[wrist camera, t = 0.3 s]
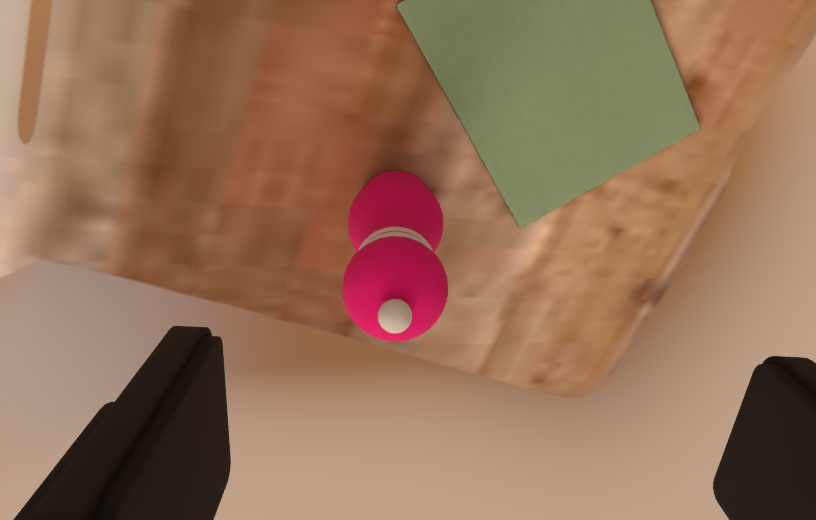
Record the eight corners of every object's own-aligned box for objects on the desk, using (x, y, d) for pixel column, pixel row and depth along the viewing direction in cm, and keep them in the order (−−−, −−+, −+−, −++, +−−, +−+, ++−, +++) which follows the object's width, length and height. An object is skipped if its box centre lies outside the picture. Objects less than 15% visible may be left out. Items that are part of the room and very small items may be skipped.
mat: (396, 5, 40) (396, 5, 40) (597, -129, 37) (599, -131, 37) (519, 227, 47) (520, 228, 47) (698, 128, 44) (701, 128, 44)
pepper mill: (455, 192, 46) (495, 302, 27) (410, 261, 48) (418, 406, 30) (380, 147, 44) (368, 230, 26) (337, 220, 46) (297, 346, 28)
